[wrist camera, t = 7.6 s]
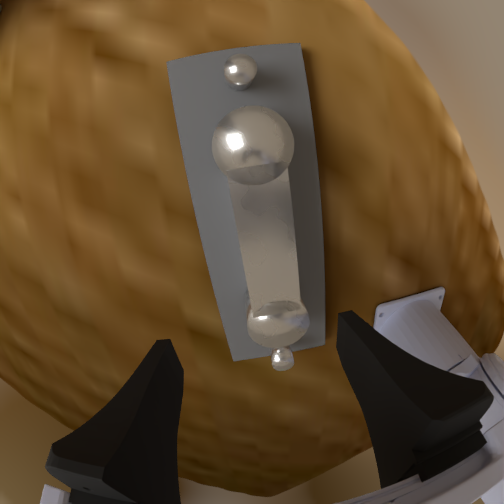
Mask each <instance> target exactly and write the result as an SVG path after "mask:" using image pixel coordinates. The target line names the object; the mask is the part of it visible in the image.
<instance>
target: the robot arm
mask: <svg viewBox="0 0 504 504" xmlns="http://www.w3.org/2000/svg"><path fill="white" fill-rule="evenodd" d="M444 294H445V289H444V288H443V287H439V288H436V289H432V290H429V291H426V292H423V293H419V294H416V295H412V296H409V297H405V298H402V299H398V300H394V301H391V302H387V303H383V304H380V305H378V306H377V308H376V313H375V320H374V327H371V326H370V325H369V324H368V323H367V322H365V321H364V320H363V319H362V318H360V317H359V316H358V315H357V314H356V313H354V312H353V311H352V310H351V311H346V312H342V313H338V330H337V345H336V348H337V351H338V354H339V357H340V360H341V364H342V367H343V369H344V371H345V373H346V375H347V378H348V380H349V382H350V384H351V386H352V388H353V390H354V393H355V395H356V397H357V399H358V401H359V404H360V406H361V408H362V411H363V414H364V417H365V420H366V423H367V427H368V430H369V434H370V437H371V441H372V445H373V449H374V453H375V458H376V462H377V467H378V473H379V478H380V485H381V489H380V490H377V491H375V492H372V493H368V494H366V495H362V496H359V497H356V498H353V499H349V500H346V501H342V502H338V503H334V504H389V503H390V504H472V503H473V502H474V501H476V500H477V499H479V498H480V497H481V499H482V500H483V502H484V503H485V504H504V361H503V360H502V359H501V358H500V357H499V356H498V355H496V354H495V353H492V354H487V353H486V354H484V355H483V357H482V358H479V357H478V356H477V354H476V353H475V352H474V351H473V349H472V348H471V347H470V346H469V344H468V343H467V342H466V341H465V340H464V338H463V337H462V336H461V335H460V334H459V332H458V331H457V330H456V329H455V328H454V327H453V325H452V324H451V323H450V322H449V321H448V320H447V319H446V318H445V316H444V315H443V314H442V313H441V312H440V309H441V306H442V302H443V298H444ZM381 313H382V314H381ZM183 382H184V370H183V368H182V366H181V363H180V361H179V359H178V357H177V354H176V352H175V350H174V347H173V345H172V342H171V340H170V339H164V340H157V341H156V342H155V344H154V345H153V346H152V348H151V349H150V351H149V352H148V353H147V355H146V356H145V358H144V359H143V361H142V362H141V364H140V365H139V366H138V368H137V369H136V370H135V372H134V373H133V375H132V376H131V377H130V378H129V380H128V381H127V382H126V383H125V385H124V386H123V387H122V388H121V390H120V391H119V392H118V393H117V394H116V395H115V396H114V397H113V399H112V400H111V401H110V402H109V403H108V404H107V405H106V406H105V407H104V408H102V409H101V410H100V411H99V412H98V413H97V414H96V415H94V416H93V417H92V418H91V419H90V420H89V421H87V422H86V423H85V424H83V425H82V426H81V427H79V428H78V429H76V430H75V431H73V432H72V433H70V434H69V435H67V436H65V437H64V438H62V439H60V440H58V441H57V442H55V443H53V444H52V446H51V449H50V453H49V456H48V459H47V462H46V466H45V468H46V470H47V471H48V472H49V473H50V474H51V475H52V476H54V477H55V478H57V479H58V480H60V481H61V482H63V483H64V484H66V485H67V486H69V487H70V488H71V493H69V492H66V491H64V490H62V489H59V488H56V487H53V486H50V485H48V484H45V485H44V490H43V493H42V498H41V502H40V504H181V502H180V494H179V484H178V470H177V433H178V425H179V418H180V411H181V404H182V396H183Z"/></svg>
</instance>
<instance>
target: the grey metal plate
mask: <svg viewBox="0 0 504 504" xmlns="http://www.w3.org/2000/svg"><path fill="white" fill-rule="evenodd" d="M167 68H168V75H169V81H170V87H171V93H172V99H173V105H174V111H175V117H176V122H177V128H178V133H179V138H180V143H181V149H182V154H183V159H184V164H185V169H186V174H187V178H188V183H189V188H190V192H191V197H192V202H193V206H194V211H195V215H196V219H197V224H198V228H199V232H200V237H201V241H202V245H203V249H204V253H205V257H206V261H207V265H208V269H209V273H210V277H211V281H212V285H213V289H214V293H215V297H216V300H217V304H218V308H219V312H220V315H221V319H222V323H223V326H224V330H225V333H226V337H227V340H228V344H229V347H230V351H231V354H232V358H233V361H238V360H245V359H252V358H258V357H264V356H270V355H271V360H272V365H273V368H274V369H275V370H278V371H285V370H288V369H290V368H291V367H292V366H293V365H294V359H293V355H292V351H297V350H302V349H307V348H312V347H317V346H321V345H325V268H324V243H323V225H322V209H321V196H320V184H319V173H318V162H317V153H316V144H315V135H314V127H313V119H312V112H311V105H310V98H309V91H308V85H307V79H306V73H305V67H304V61H303V56H302V50H301V45H300V43H288V44H271V45H259V46H250V47H241V48H234V49H227V50H221V51H215V52H209V53H204V54H199V55H194V56H189V57H185V58H180V59H176V60H172V61H168V62H167ZM245 106H262V107H266V108H269V109H271V110H273V111H275V112H276V113H278V114H279V115H280V116H282V117H283V118H284V120H285V121H286V122H287V123H288V125H289V127H290V129H291V131H292V134H293V137H294V153H293V157H292V160H291V162H290V164H289V166H288V175H289V184H290V192H291V201H292V210H293V220H294V230H295V240H296V251H297V262H298V274H299V287H300V295H301V297H302V300H303V302H304V305H305V307H306V310H307V312H308V315H309V326H308V329H307V331H306V333H305V334H304V335H303V336H302V337H301V338H300V339H299V340H298V341H296V342H295V343H293V344H291V345H288V346H285V347H280V348H269V347H264V346H261V345H259V344H257V343H256V342H254V341H253V340H252V338H251V337H250V335H249V333H248V328H247V317H246V307H245V294H246V291H247V289H248V287H247V282H246V276H245V271H244V266H243V260H242V255H241V250H240V244H239V239H238V233H237V228H236V222H235V217H234V211H233V206H232V200H231V195H230V189H229V184H228V178H227V176H226V175H225V174H224V173H223V172H222V171H221V170H220V169H219V167H218V166H217V164H216V162H215V160H214V157H213V153H212V139H213V135H214V132H215V129H216V127H217V126H218V124H219V122H220V121H221V120H222V119H223V118H224V117H225V116H226V115H227V114H229V113H230V112H232V111H233V110H235V109H238V108H241V107H245Z"/></svg>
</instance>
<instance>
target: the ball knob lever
mask: <svg viewBox="0 0 504 504" xmlns="http://www.w3.org/2000/svg"><path fill="white" fill-rule="evenodd" d="M212 153H213V157H214V160H215V162H216V164H217V166H218V167H219V169H220V170H221V171H222V172H223V173H224V174H225V175H226V176H227V178H228V184H229V189H230V195H231V200H232V206H233V211H234V217H235V222H236V228H237V233H238V239H239V244H240V250H241V255H242V260H243V266H244V271H245V276H246V282H247V287H248V289H247V291H246V294H245V307H246V317H247V328H248V333H249V335H250V337H251V338H252V340H253V341H254V342H256V343H257V344H259V345H261V346H264V347H269V348H280V347H285V346H288V345H291V344H293V343H295V342H296V341H298V340H299V339H300V338H301V337H302V336H303V335H304V334H305V333H306V331H307V329H308V326H309V315H308V312H307V310H306V307H305V305H304V302H303V300H302V297H301V295H300V287H299V274H298V262H297V251H296V240H295V230H294V220H293V210H292V201H291V192H290V184H289V175H288V166H289V164H290V162H291V160H292V157H293V153H294V137H293V134H292V131H291V129H290V127H289V125H288V123H287V122H286V121H285V120H284V118H283V117H282V116H280V115H279V114H278V113H276V112H275V111H273V110H271V109H269V108H266V107H262V106H245V107H241V108H238V109H235V110H233V111H232V112H230V113H229V114H227V115H226V116H225V117H224V118H223V119H222V120H221V121H220V122H219V124H218V126H217V127H216V129H215V132H214V135H213V139H212Z"/></svg>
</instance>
